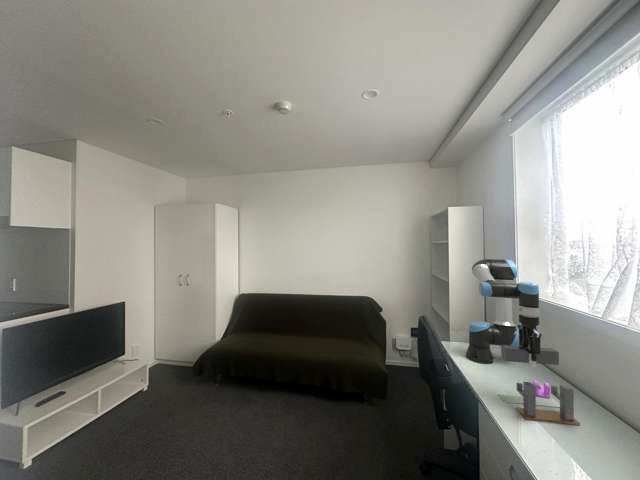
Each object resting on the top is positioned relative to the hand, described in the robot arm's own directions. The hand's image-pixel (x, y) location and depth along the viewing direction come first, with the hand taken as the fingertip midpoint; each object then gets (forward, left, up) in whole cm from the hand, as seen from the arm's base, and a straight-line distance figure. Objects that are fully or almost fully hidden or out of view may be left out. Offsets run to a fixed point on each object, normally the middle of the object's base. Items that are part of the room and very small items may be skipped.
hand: (529, 365), depth 121 cm
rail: (0, 0, +2) cm, 2 cm away
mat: (0, 0, -17) cm, 17 cm away
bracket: (-11, +10, -18) cm, 23 cm away
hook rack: (+10, 0, -17) cm, 20 cm away
